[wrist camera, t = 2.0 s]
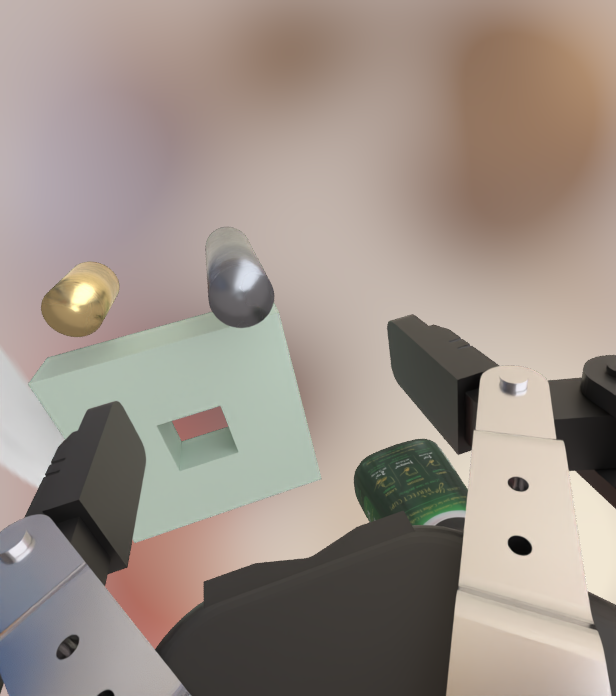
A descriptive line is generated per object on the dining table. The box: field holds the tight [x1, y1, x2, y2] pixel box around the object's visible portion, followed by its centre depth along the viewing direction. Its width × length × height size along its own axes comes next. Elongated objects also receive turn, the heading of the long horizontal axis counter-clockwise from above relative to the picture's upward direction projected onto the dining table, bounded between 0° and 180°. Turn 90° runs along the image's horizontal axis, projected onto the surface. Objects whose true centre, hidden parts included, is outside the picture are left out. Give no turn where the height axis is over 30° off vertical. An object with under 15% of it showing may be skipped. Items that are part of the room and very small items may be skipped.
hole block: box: [28, 303, 321, 543], centre depth 30 cm, size 16×16×4 cm
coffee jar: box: [354, 439, 468, 532], centre depth 33 cm, size 10×8×19 cm
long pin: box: [206, 227, 274, 328], centre depth 22 cm, size 3×3×10 cm
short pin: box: [41, 262, 119, 337], centre depth 23 cm, size 3×3×5 cm
